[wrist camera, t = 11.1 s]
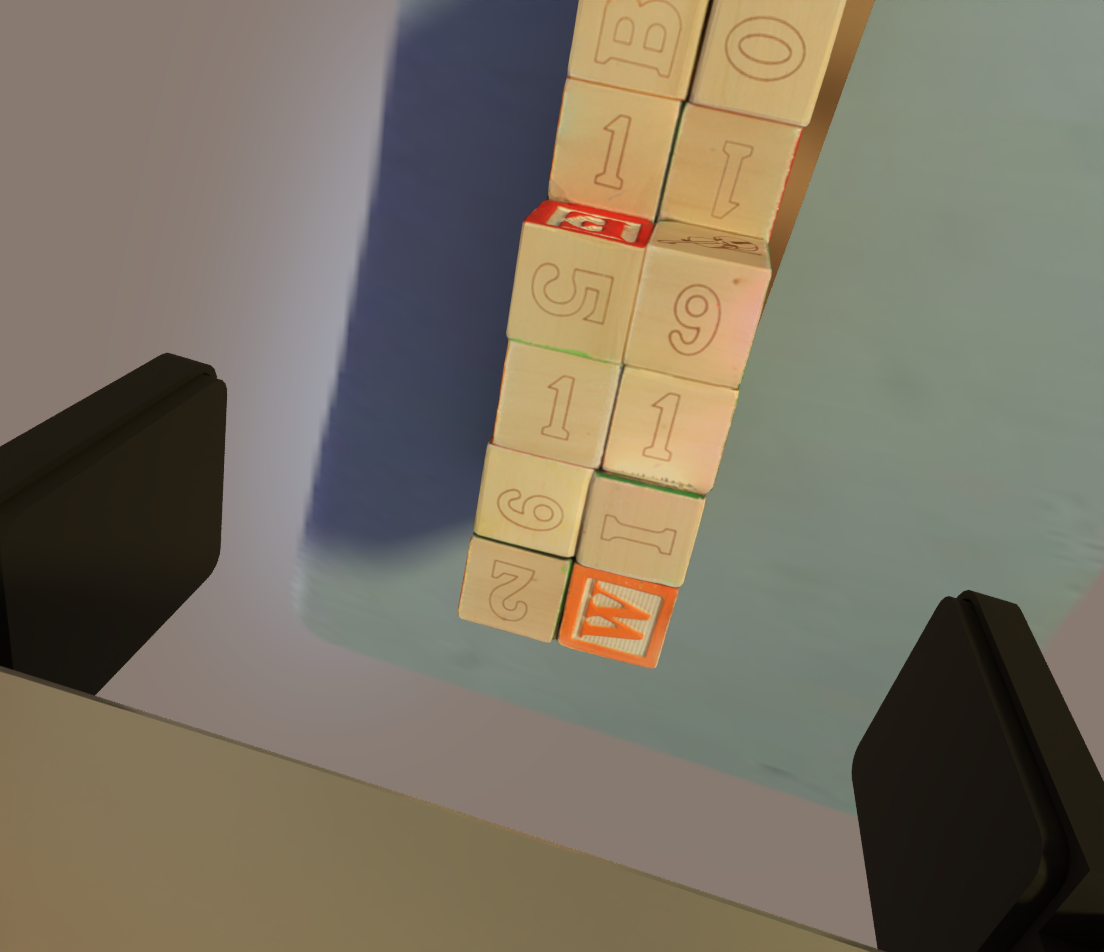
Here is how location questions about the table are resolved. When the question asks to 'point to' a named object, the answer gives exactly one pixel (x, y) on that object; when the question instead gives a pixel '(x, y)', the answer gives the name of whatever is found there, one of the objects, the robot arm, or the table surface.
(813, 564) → the table surface
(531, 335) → the stack of blocks
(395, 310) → the table surface
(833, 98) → the wooden tray
